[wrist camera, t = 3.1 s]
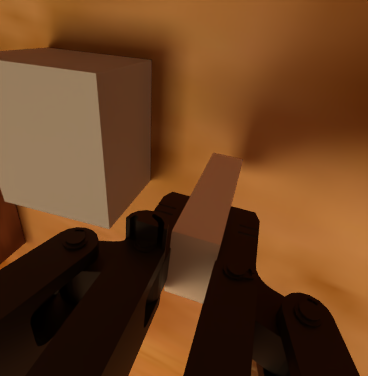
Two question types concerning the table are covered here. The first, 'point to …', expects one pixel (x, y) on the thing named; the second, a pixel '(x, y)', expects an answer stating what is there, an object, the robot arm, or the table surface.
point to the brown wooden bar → (9, 229)
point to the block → (74, 132)
